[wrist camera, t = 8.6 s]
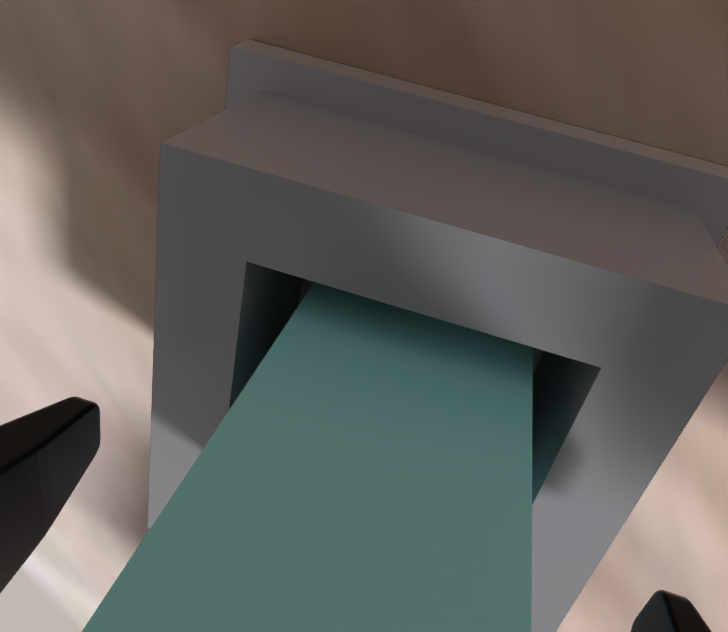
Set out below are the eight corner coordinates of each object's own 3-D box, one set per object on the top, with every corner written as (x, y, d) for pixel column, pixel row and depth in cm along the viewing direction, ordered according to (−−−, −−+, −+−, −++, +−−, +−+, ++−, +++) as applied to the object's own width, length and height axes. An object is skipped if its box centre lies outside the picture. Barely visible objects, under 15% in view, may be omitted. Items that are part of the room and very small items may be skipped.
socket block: (736, 168, 12) (842, 282, 8) (551, 513, 18) (557, 692, 13) (250, 39, 13) (116, 81, 9) (213, 404, 18) (117, 538, 14)
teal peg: (532, 280, 13) (529, 855, 5) (477, 422, 15) (407, 996, 7) (350, 228, 14) (51, 677, 5) (319, 373, 16) (72, 862, 7)
